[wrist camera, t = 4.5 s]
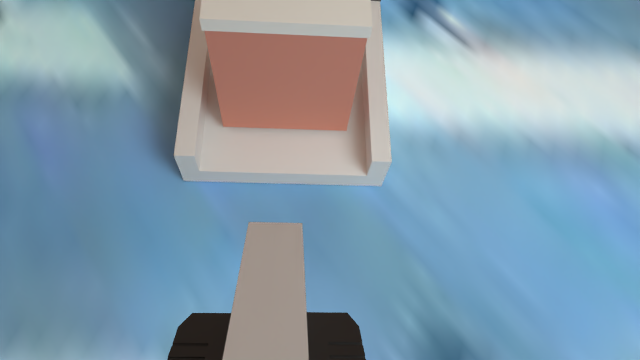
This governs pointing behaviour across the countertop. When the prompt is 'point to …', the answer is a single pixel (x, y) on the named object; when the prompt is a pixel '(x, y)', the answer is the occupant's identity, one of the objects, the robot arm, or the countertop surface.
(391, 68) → the countertop surface
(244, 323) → the robot arm
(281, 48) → the orange rectangular block
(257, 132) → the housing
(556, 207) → the countertop surface
